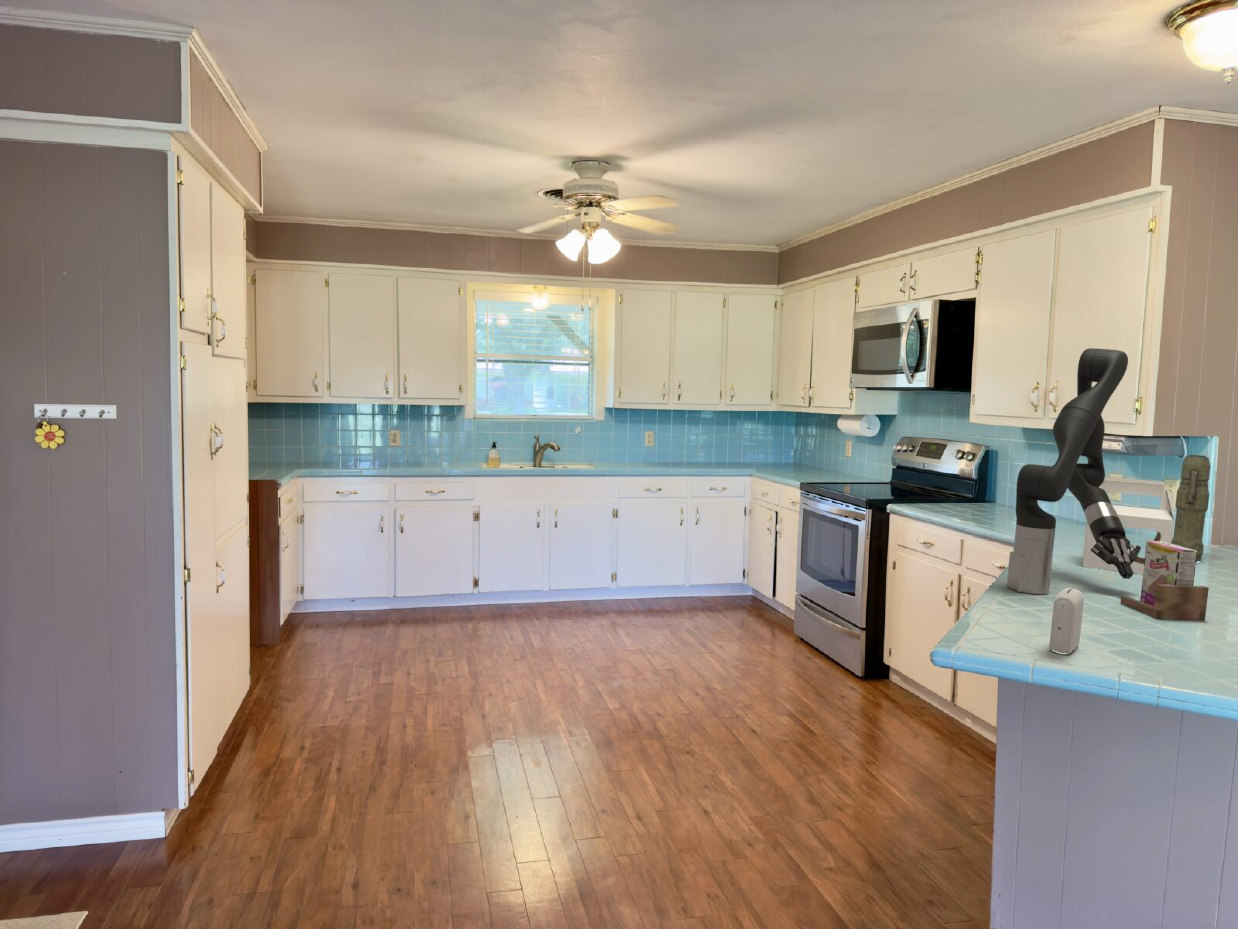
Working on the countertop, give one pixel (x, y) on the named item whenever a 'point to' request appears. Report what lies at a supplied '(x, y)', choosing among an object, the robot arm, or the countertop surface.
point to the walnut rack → (1174, 602)
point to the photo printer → (1066, 621)
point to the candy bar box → (1166, 568)
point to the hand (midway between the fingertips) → (1128, 577)
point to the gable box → (1134, 518)
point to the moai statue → (1192, 503)
